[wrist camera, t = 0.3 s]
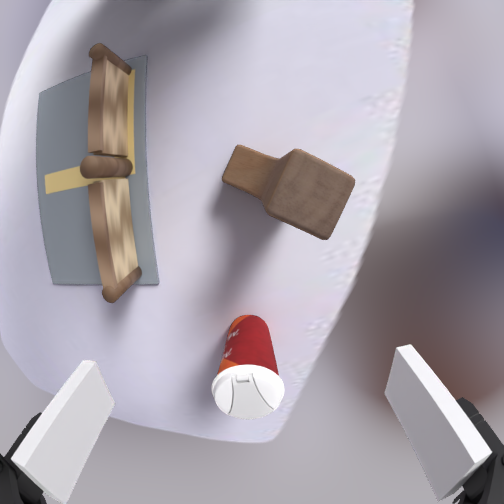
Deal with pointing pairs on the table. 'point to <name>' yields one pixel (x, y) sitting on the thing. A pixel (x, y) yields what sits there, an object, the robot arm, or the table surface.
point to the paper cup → (248, 371)
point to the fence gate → (113, 236)
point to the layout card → (76, 186)
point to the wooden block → (292, 187)
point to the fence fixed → (107, 116)
